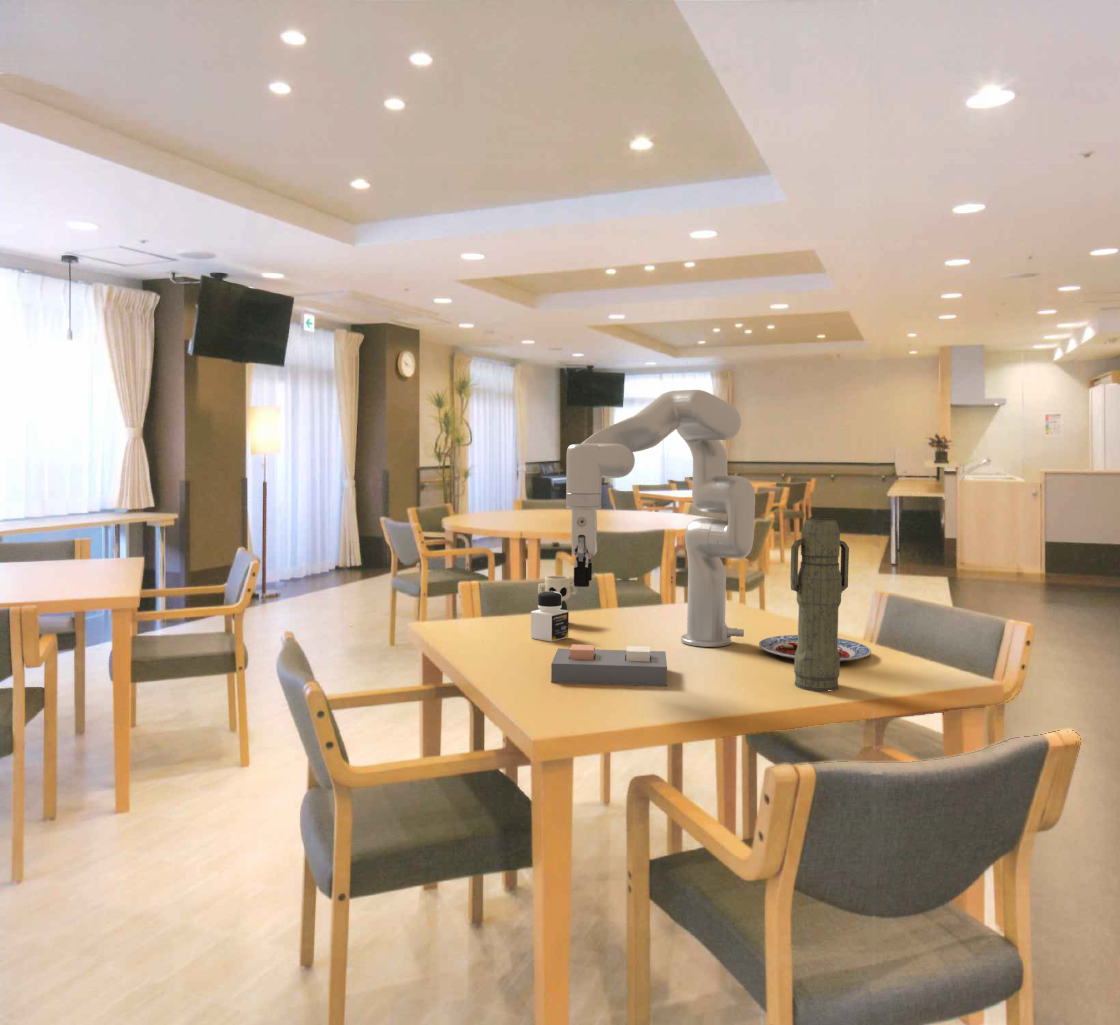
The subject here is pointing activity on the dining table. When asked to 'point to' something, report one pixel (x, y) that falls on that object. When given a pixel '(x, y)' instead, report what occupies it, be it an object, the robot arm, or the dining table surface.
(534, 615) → the medicine bottle
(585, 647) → the terracotta key
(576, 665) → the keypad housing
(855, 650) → the ceramic plate
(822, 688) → the thermos
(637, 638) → the dining table surface
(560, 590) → the character mug
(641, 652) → the ivory key
